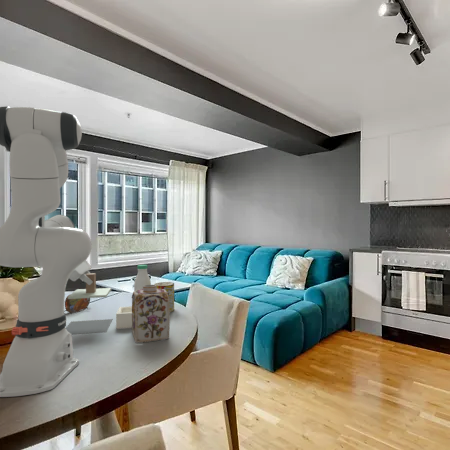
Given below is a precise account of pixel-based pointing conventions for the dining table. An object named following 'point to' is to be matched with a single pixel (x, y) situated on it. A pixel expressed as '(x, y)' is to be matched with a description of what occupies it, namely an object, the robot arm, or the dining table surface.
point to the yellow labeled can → (170, 290)
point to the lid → (90, 290)
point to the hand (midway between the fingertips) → (92, 282)
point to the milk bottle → (141, 278)
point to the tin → (76, 304)
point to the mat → (88, 326)
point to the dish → (124, 317)
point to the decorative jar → (150, 314)
